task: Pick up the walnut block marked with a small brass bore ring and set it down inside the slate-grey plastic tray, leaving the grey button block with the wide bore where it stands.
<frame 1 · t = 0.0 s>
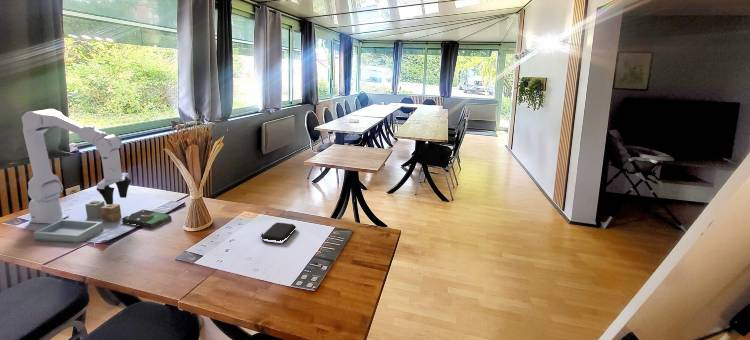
hand: (116, 200, 150), 10 cm above the table, tool pointing down, fingers open, 7 cm apart
tray: (70, 234, 142), on the table
grey button block: (96, 216, 159), on the table
walnut block: (112, 219, 157), on the table
disk drive: (147, 222, 157), on the table
carrying case or bag: (278, 236, 152), on the table
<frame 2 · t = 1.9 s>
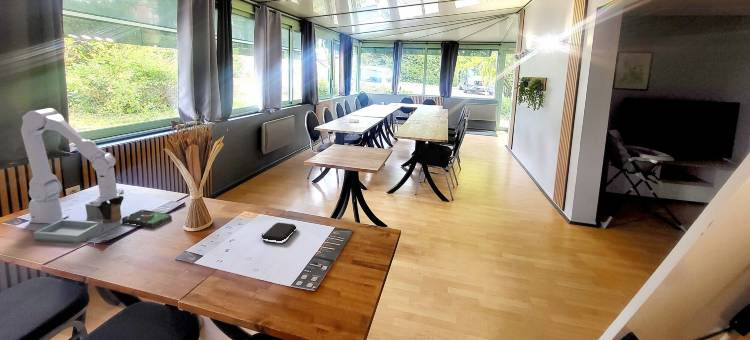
hand: (111, 216, 156), 1 cm above the table, tool pointing down, fingers closed on walnut block, 4 cm apart
walnut block: (112, 219, 157), on the table, touching gripper
everything else where it was.
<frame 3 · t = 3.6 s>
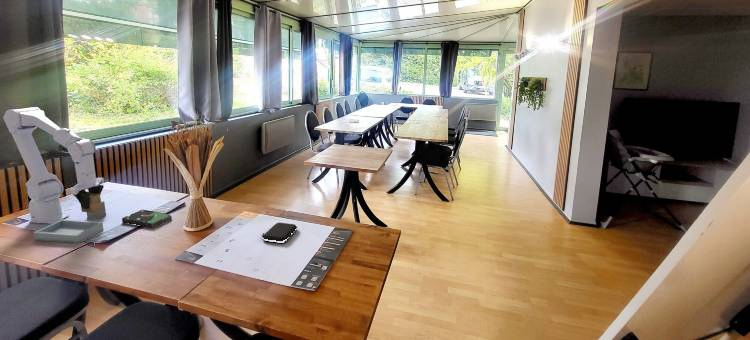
hand: (90, 206, 148), 8 cm above the table, tool pointing down, fingers closed on walnut block, 4 cm apart
walnut block: (92, 210, 148), point 7 cm above the table, touching gripper
everything else where it was.
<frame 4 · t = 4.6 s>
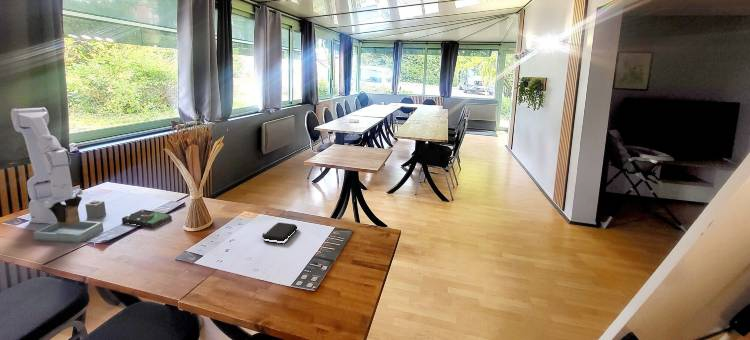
hand: (67, 219, 141), 6 cm above the table, tool pointing down, fingers closed on walnut block, 4 cm apart
walnut block: (69, 223, 141), point 5 cm above the table, touching gripper
everything else where it was.
when the fingers open (4 cm above the table, at t = 5.5 s): walnut block drops 1 cm, resting on tray.
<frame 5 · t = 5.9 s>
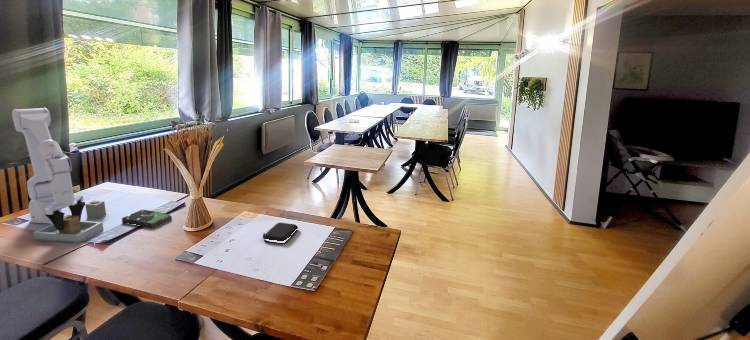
hand: (68, 225, 141), 4 cm above the table, tool pointing down, fingers open, 7 cm apart
walnut block: (70, 232, 142), point 1 cm above the table, touching tray
everything else where it was.
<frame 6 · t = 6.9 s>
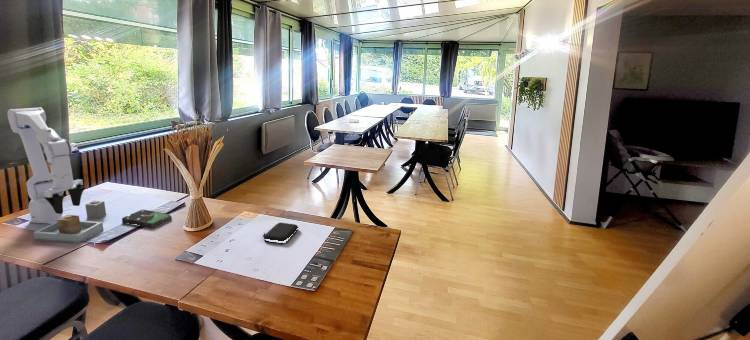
hand: (68, 209, 142), 9 cm above the table, tool pointing down, fingers open, 7 cm apart
nothing on the table moved.
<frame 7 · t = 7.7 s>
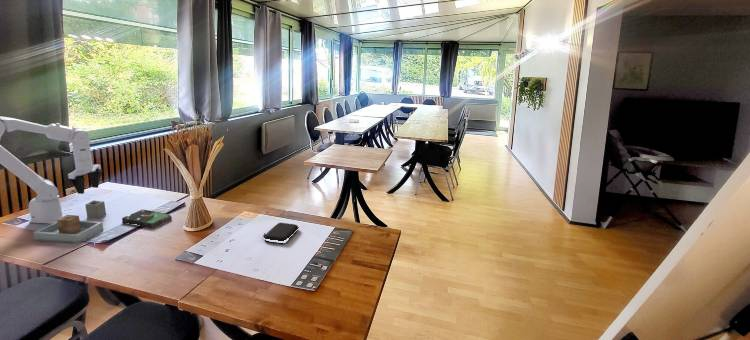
hand: (88, 190, 161), 9 cm above the table, tool pointing down, fingers open, 7 cm apart
nothing on the table moved.
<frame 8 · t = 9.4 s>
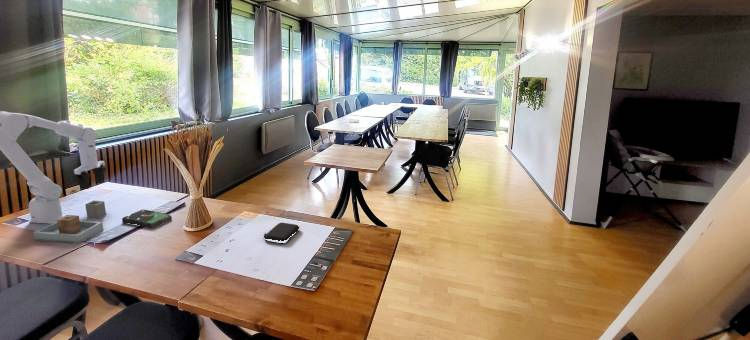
hand: (92, 185, 166), 9 cm above the table, tool pointing down, fingers open, 7 cm apart
at the end: walnut block inside the target area on the tray (0.1 cm from its centre), point 0.8 cm above the tray's base; the gripper is holding nothing; grey button block moved 0.1 cm from its start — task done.
